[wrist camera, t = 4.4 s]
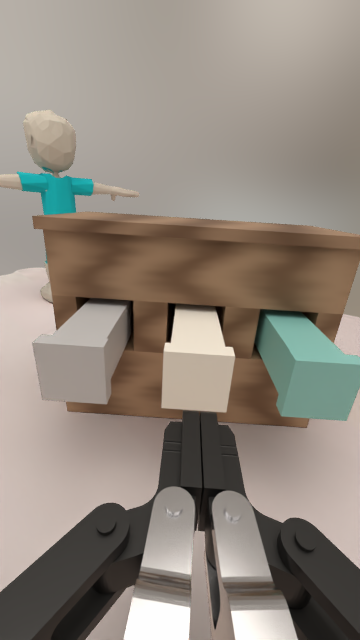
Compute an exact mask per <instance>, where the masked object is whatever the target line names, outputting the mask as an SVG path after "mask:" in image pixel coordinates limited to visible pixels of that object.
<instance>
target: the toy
mask: <svg viewBox="0 0 360 640" xmlns="http://www.w3.org/2000/svg"><path fill="white" fill-rule="evenodd" d="M23 125H24V131H25V137H26V141H27V147H28V151H29V153H30V155H31V157H32V158H33V160H34V163H35V164H37V165H38V166H39V167H40V168H42V169H43V170H44V171H45V172H50V173H53V176H52V175H51V174H43V173H41V174H31V173H23V172H17V174H5V175H0V187H4V188H11V189H18V190H22V191H30V192H40V193H41V197H42V204H43V211H44V215H52V214H65V213H76V208H75V197H74V195H87V196H91V195H92V194H111V199H112V200H113V201H114V200H115V196H117V195H118V196H123V197H138V196H139V193H138V192H137V191H133V190H126V189H123V188H120V187H110V186H106V185H103V184H99V183H95V182H92V179H81V178H72V177H69V176H65V177H63V178H60V177H59V175H58V173H59V172H62V171H65V170H68V169H69V168H70V167H71V165H72V164H73V160H74V155H75V149H76V135H75V130H74V129H73V127H72V125H71V124H70V123H69V122H67V119H64V118H62V117H59V116H58V115H56V114H54V112H53V111H52V110H45V111H34V112H32V113H28V114H27V115H26V117H25V120H24V122H23ZM46 259H47V255H46ZM44 264H45V268H46V271H47V275H48V278H49V270H48V263H47V260H46V261H44ZM41 295H42V296H43V297H44V298H45V299H46V300H48V301H50V302H53V300H52V292H51V285H50V278H49V283H47V284H46V286H44V287H43V288H42V289H41Z"/></svg>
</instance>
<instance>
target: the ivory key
mask: <svg viewBox="0 0 360 640" xmlns="http://www.w3.org/2000/svg"><path fill="white" fill-rule="evenodd" d="M234 361H235V354H234V350H233V347H225V343H224V339H223V335H222V331H221V327H220V323H219V319H218V315H217V311H216V307H215V306H209V305H194V304H179V303H176V308H175V316H174V323H173V331H172V338H171V343H165V346H164V353H163V379H162V404H161V408H168V409H182V410H197V411H211V412H226V411H227V405H228V399H229V392H230V386H231V380H232V374H233V367H234Z"/></svg>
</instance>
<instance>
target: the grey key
mask: <svg viewBox="0 0 360 640" xmlns="http://www.w3.org/2000/svg"><path fill="white" fill-rule="evenodd" d="M130 335H131V300H119V299H103V298H90V299H89V300H88V301H87V302H86V303H85V304H84V305H83V306H82V307H81V308H80V309H79V310H78V311H77V312H76V313H75V314H74V315H73V316H72V317H71V318H69V319H68V320H67V321H66V322H65V323H64V324H63V325H62V326H61V327H60V328H59V329H58V330H57V331H56V332H55V333H54V334H53V335H45V334H41V335H40V336H39V337H38V338H37V339H36V340H35V341H33V342H32V344H33V350H34V356H35V361H36V367H37V372H38V378H39V384H40V389H41V395H42V400H51V401H66V402H81V403H95V404H107V403H108V400H109V398H110V396H111V378H112V375H113V373H114V371H115V369H116V366H117V364H118V362H119V360H120V358H121V355H122V353H123V351H124V349H125V346H126V344H127V342H128V340H129V338H130Z"/></svg>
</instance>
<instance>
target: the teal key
mask: <svg viewBox="0 0 360 640" xmlns="http://www.w3.org/2000/svg"><path fill="white" fill-rule="evenodd" d="M254 343H255V345H256V347H257V349H258V351H259V353H260V355H261V357H262V360H263V362H264V364H265V366H266V368H267V370H268V372H269V375H270V377H271V379H272V381H273V383H274V385H275V387H276V390H277V392H278V394H279V395H278V399H277V403H276V406H277V408H278V410H279V413H280V415H281V416H284V417H298V418H313V419H327V420H342V421H347V418H348V415H349V413H350V410H351V408H352V405H353V403H354V400H355V398H356V395H357V392H358V390H359V387H360V357H358V356H357V355H345V354H344V353H343V352H342V351H341V350H340V349H339V348H338V347H337V346H336V345H335V344H334V343H333V342H331V341H330V340H329V339H328V338H327V337H326V336H325V335H324V334H323V333H322V332H321V331H320V330H319V329H318V328H317V327H316V326H315V325H314V324H313V323H312V322H311V321H310V320H309V319H308V318H307V317H306V316H305V315H304V314H303V313H302V312H300V311H285V310H270V309H260V313H259V319H258V324H257V329H256V335H255V340H254Z"/></svg>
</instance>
